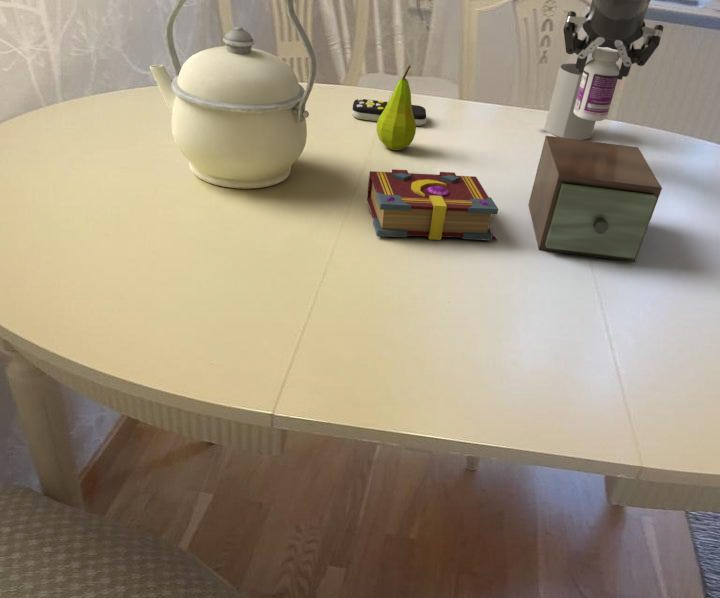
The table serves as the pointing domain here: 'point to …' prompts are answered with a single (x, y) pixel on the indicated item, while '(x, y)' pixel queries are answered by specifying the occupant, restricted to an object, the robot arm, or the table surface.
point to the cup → (567, 106)
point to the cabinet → (585, 178)
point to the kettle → (237, 108)
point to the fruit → (397, 118)
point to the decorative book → (429, 205)
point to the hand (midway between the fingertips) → (601, 70)
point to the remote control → (375, 108)
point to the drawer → (599, 220)
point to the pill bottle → (597, 85)
